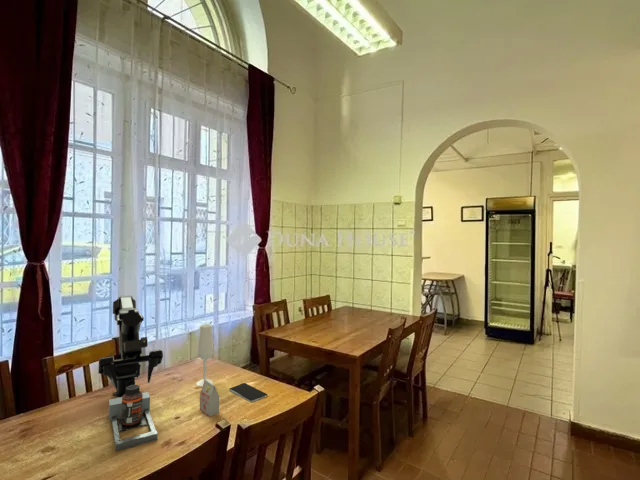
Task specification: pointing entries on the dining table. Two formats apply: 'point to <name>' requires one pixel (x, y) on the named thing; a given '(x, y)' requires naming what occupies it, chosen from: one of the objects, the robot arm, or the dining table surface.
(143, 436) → the grey rectangular frame
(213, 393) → the tea bag
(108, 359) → the robot arm
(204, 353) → the champagne flute
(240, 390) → the smartphone
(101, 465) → the dining table surface
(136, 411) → the supplement bottle
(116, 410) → the gray rotary dial box
